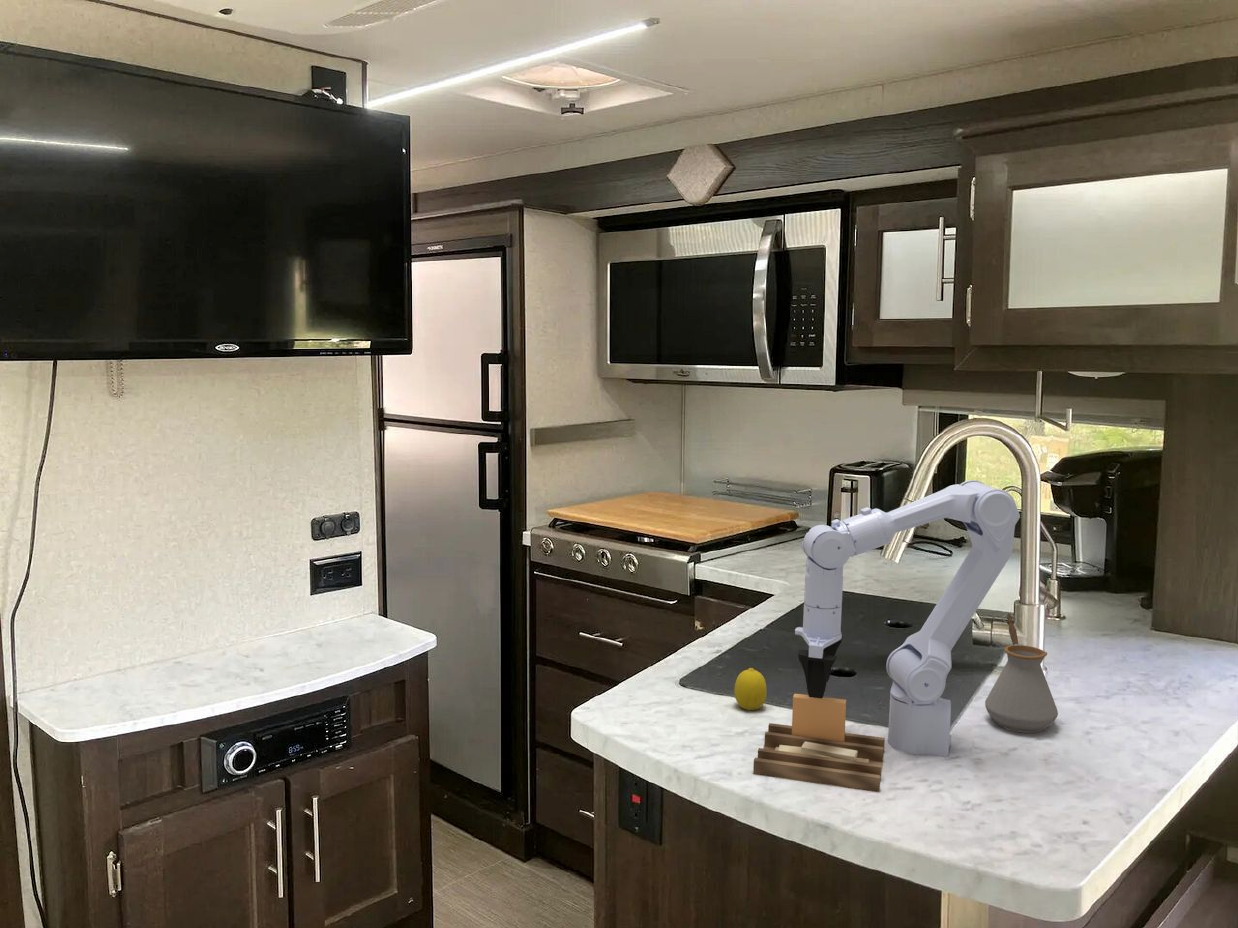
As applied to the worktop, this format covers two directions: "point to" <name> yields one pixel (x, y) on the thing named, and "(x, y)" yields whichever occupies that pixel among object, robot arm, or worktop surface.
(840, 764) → the rack
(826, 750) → the offcut stack
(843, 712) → the orange square slab
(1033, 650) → the coffee pot
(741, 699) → the lemon
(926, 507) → the robot arm
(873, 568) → the worktop surface
